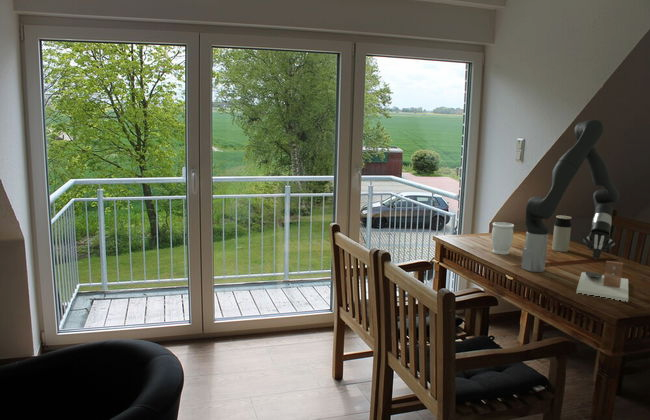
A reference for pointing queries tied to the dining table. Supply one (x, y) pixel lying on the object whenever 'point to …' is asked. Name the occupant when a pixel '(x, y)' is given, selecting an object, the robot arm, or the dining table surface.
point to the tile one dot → (594, 274)
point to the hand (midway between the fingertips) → (596, 257)
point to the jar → (502, 237)
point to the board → (602, 287)
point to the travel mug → (561, 234)
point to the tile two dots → (613, 274)
